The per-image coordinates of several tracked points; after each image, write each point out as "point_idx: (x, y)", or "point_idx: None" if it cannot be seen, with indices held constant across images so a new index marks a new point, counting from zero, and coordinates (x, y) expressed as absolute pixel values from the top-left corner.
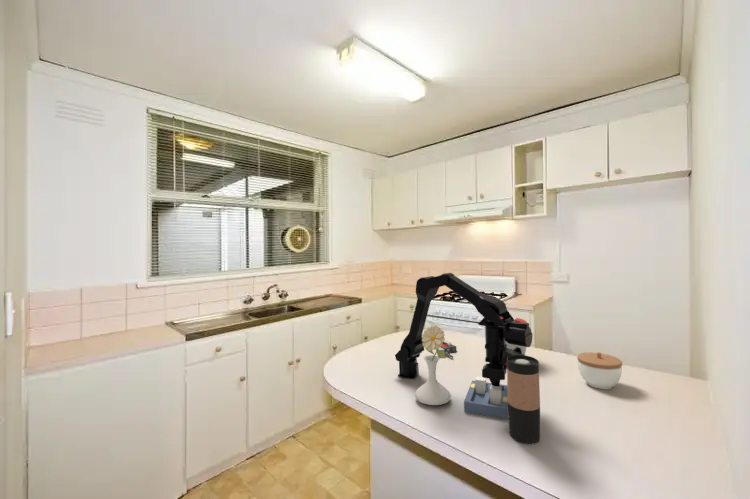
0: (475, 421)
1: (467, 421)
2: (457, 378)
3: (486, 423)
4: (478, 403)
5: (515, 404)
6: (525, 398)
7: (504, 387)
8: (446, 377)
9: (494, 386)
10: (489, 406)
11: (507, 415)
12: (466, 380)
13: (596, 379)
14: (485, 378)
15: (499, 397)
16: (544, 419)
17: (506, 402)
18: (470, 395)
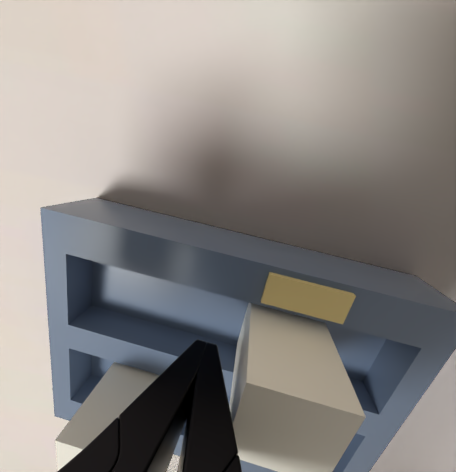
0: (424, 418)
1: (420, 444)
2: (11, 402)
3: (451, 380)
4: (371, 458)
5: None
6: None
7: (88, 256)
8: (21, 435)
9: (249, 435)
10: (408, 408)
11: (401, 276)
12: (14, 374)
13: None
14: (80, 450)
15: (335, 358)
16: (440, 4)
17: (359, 297)
18: (259, 466)
